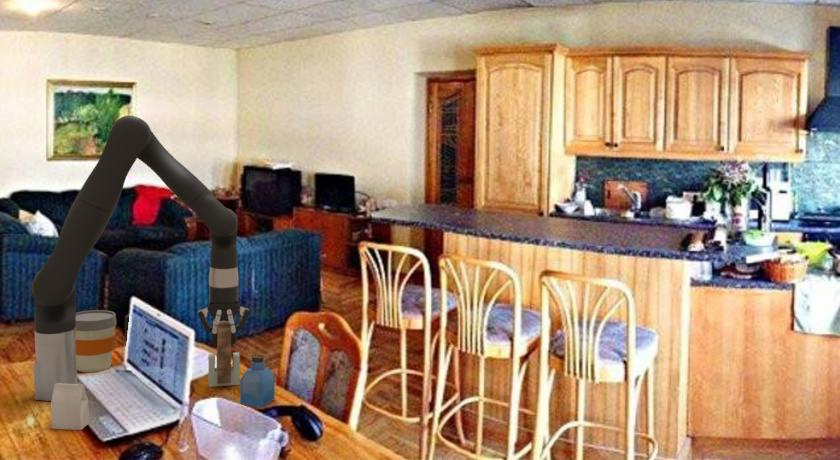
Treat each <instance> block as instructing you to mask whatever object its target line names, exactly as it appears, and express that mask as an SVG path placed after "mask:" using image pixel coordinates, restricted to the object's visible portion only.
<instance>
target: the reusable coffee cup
mask: <svg viewBox="0 0 840 460" xmlns="http://www.w3.org/2000/svg"><path fill="white" fill-rule="evenodd" d="M116 316H117V315H116V313H115V312H114V311H111V310H104V309H100V310H99V309H94V310H93V309H92V310H82V311H78V312H77V311H76V320H75V326H76V327H75V328H76V360H77V372H81V373H82V372H83V373H92V372H93V373H95V372H101V371H104V370H107V369H109V368H111V364H112V358H113V356H112V355H113V350H114V349H115V345H116V336H117V335H116V331H115V330H116V325H117V324H118V323H117V317H116Z"/></svg>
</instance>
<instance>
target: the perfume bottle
mask: <svg viewBox="0 0 840 460" xmlns="http://www.w3.org/2000/svg"><path fill="white" fill-rule="evenodd" d="M264 358H265V355H264V354H260V353H259V354H257V353H256V354H253V355H251V360H250V366H251V367H250V368H248V369H245V372H244V374H243V375H242V377H241V378H240V385H239V386H240V388H239V389H240V391H239V394H240V395H239V398H240V399H239V400H240V402H239V403H241V405H247V406H251V407H258V408H263V407H265V406H266V405H268V404H269V403H270V401H271V402H272V401H274V400H275V378H276V377H275V374H274V373H273V372H272V370H271V369H270V368H269V367H267V366H265V363H266V361H265V359H264ZM273 399H274V400H273Z"/></svg>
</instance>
